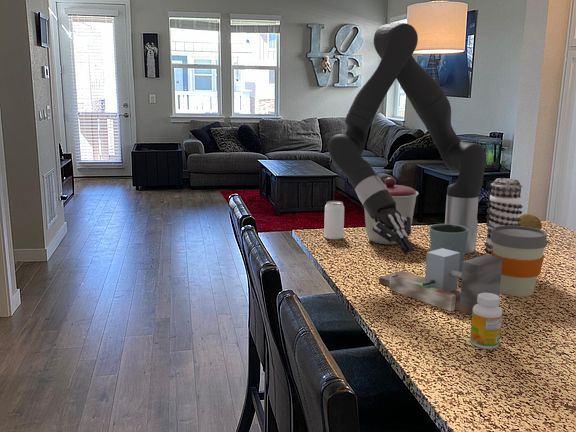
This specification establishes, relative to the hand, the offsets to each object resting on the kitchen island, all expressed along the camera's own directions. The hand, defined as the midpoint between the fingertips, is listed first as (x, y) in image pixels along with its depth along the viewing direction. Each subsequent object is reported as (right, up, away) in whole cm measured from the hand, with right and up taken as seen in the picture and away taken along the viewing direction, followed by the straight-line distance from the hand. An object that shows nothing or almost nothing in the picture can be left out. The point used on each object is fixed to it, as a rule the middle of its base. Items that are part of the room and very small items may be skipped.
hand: (409, 252), depth 140 cm
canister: (+2, +1, +44) cm, 44 cm away
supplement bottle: (+8, -16, -31) cm, 36 cm away
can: (-15, +2, +48) cm, 51 cm away
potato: (+51, +2, +51) cm, 72 cm away
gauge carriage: (+6, -9, -9) cm, 13 cm away
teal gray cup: (+13, -6, +14) cm, 20 cm away
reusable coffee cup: (+25, -9, -1) cm, 27 cm away
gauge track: (+5, -10, -5) cm, 12 cm away
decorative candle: (+28, -6, +16) cm, 33 cm away
